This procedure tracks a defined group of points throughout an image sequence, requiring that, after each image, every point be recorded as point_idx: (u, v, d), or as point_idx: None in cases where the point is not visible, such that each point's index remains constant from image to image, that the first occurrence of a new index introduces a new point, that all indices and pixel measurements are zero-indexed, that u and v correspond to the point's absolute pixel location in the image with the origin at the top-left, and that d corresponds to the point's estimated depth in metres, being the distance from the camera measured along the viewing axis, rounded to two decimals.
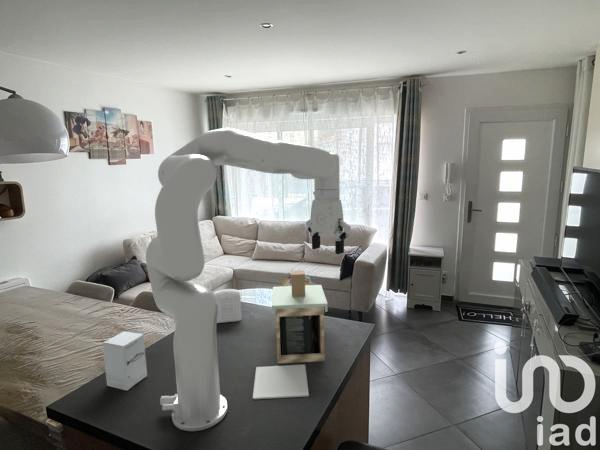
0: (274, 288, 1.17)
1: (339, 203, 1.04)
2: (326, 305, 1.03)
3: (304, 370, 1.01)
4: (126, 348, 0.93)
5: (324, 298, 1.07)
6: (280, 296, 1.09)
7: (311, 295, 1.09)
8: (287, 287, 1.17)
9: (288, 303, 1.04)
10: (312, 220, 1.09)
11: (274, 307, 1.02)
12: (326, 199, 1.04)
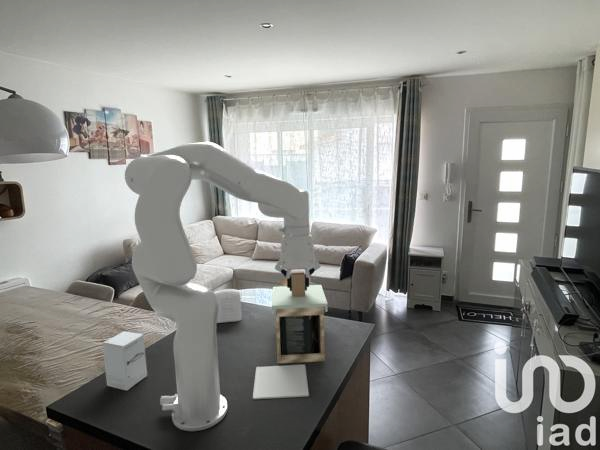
0: (274, 288, 1.17)
1: None
2: (326, 305, 1.03)
3: (304, 370, 1.01)
4: (126, 348, 0.93)
5: (324, 298, 1.07)
6: (280, 296, 1.09)
7: (311, 295, 1.09)
8: None
9: (288, 303, 1.04)
10: (285, 258, 1.06)
11: (274, 307, 1.02)
12: (305, 235, 1.05)
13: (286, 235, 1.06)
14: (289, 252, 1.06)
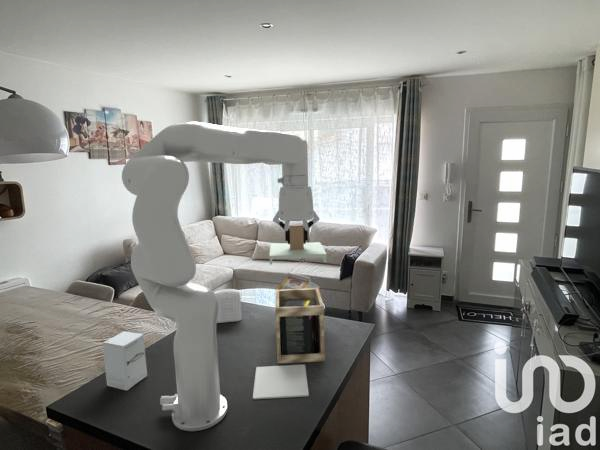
0: (272, 244, 1.14)
1: None
2: (325, 256, 1.00)
3: (304, 370, 1.01)
4: (126, 348, 0.93)
5: (323, 250, 1.04)
6: (278, 249, 1.07)
7: (310, 249, 1.07)
8: (285, 244, 1.15)
9: (286, 254, 1.01)
10: (283, 209, 1.03)
11: (272, 257, 1.00)
12: (303, 185, 1.03)
13: (284, 185, 1.03)
14: (287, 203, 1.03)
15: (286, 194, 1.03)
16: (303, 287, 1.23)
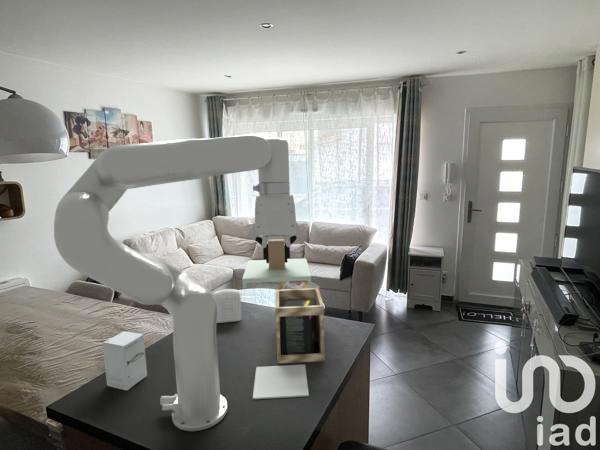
0: (249, 262, 0.97)
1: None
2: (309, 278, 0.84)
3: (304, 370, 1.01)
4: (126, 348, 0.93)
5: (308, 271, 0.88)
6: (255, 269, 0.90)
7: (292, 268, 0.90)
8: (265, 261, 0.98)
9: (263, 276, 0.85)
10: (260, 222, 0.87)
11: (245, 280, 0.83)
12: (283, 193, 0.86)
13: (261, 194, 0.86)
14: (265, 214, 0.86)
15: (263, 204, 0.86)
16: (303, 287, 1.23)
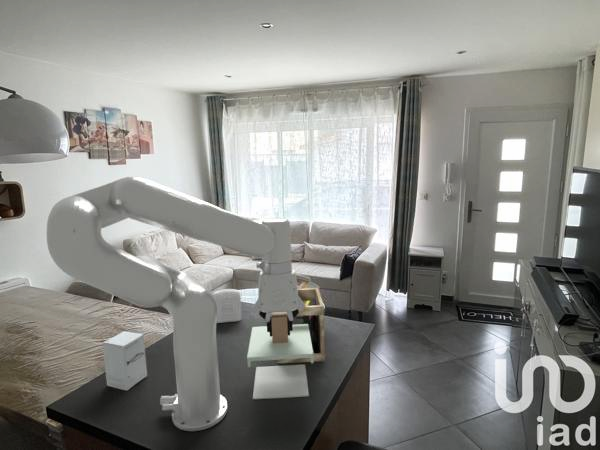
0: (253, 329, 1.01)
1: None
2: (312, 356, 0.87)
3: (304, 370, 1.01)
4: (126, 348, 0.93)
5: (310, 345, 0.91)
6: (259, 342, 0.93)
7: (295, 340, 0.94)
8: None
9: (267, 353, 0.88)
10: (263, 299, 0.90)
11: (250, 359, 0.86)
12: (286, 272, 0.89)
13: (264, 272, 0.89)
14: (268, 292, 0.90)
15: (266, 283, 0.89)
16: (303, 287, 1.23)
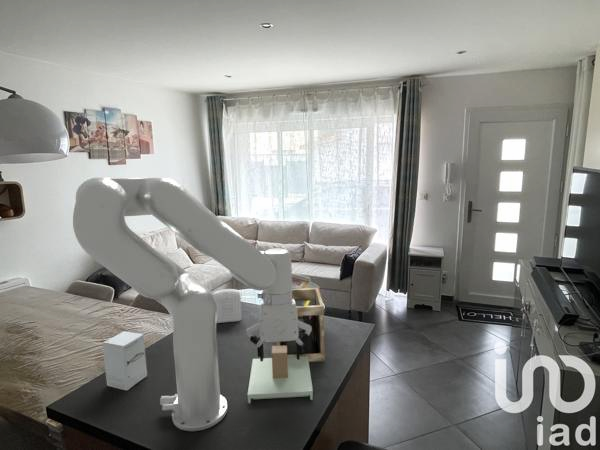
0: (254, 362, 1.02)
1: None
2: (311, 393, 0.88)
3: None
4: (126, 348, 0.93)
5: (309, 381, 0.92)
6: (259, 377, 0.95)
7: (295, 375, 0.95)
8: (269, 360, 1.03)
9: (267, 389, 0.89)
10: (264, 329, 0.91)
11: (250, 396, 0.88)
12: (287, 303, 0.90)
13: (265, 303, 0.91)
14: (269, 322, 0.91)
15: (267, 313, 0.90)
16: (303, 287, 1.23)
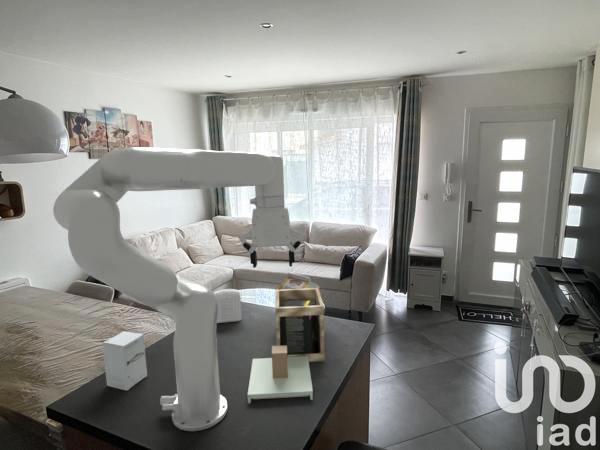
0: (254, 362, 1.02)
1: None
2: (311, 393, 0.88)
3: None
4: (126, 348, 0.93)
5: (309, 381, 0.92)
6: (259, 377, 0.95)
7: (295, 375, 0.95)
8: (269, 360, 1.03)
9: (267, 390, 0.89)
10: (256, 233, 0.93)
11: (250, 396, 0.88)
12: (278, 207, 0.91)
13: (257, 207, 0.92)
14: (261, 226, 0.92)
15: (259, 217, 0.92)
16: (303, 287, 1.23)
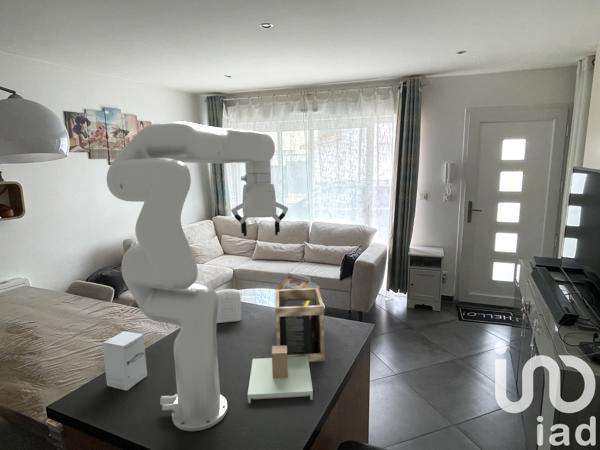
0: (254, 362, 1.02)
1: None
2: (311, 393, 0.88)
3: None
4: (126, 348, 0.93)
5: (309, 381, 0.92)
6: (259, 377, 0.95)
7: (295, 375, 0.95)
8: (269, 360, 1.03)
9: (267, 390, 0.89)
10: (246, 206, 1.07)
11: (250, 396, 0.88)
12: (265, 182, 1.06)
13: (247, 183, 1.06)
14: (250, 199, 1.07)
15: (249, 191, 1.06)
16: (303, 287, 1.23)
